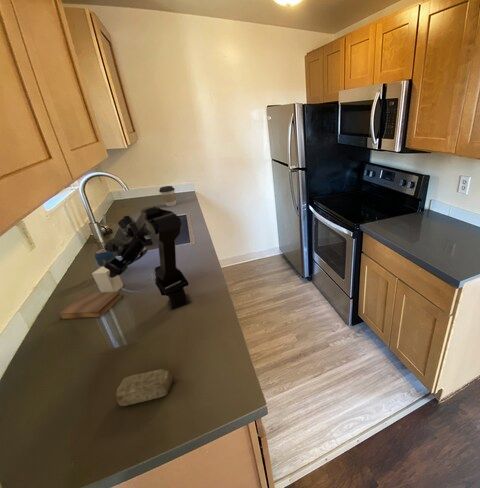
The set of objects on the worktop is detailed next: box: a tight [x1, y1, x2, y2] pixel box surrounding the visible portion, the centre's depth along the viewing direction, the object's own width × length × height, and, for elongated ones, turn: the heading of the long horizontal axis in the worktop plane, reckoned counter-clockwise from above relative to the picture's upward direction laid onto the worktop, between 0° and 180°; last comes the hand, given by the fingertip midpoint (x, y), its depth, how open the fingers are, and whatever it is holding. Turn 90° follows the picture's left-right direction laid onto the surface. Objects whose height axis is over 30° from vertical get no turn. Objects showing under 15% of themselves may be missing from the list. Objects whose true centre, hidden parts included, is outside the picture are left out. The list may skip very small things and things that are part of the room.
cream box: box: [91, 267, 124, 293], centre depth 114 cm, size 6×6×10 cm
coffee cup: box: [158, 185, 177, 207], centre depth 225 cm, size 11×11×15 cm
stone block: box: [115, 367, 173, 407], centre depth 70 cm, size 6×12×5 cm, turn 106°
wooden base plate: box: [58, 290, 122, 320], centre depth 105 cm, size 14×12×2 cm
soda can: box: [94, 247, 117, 268], centre depth 127 cm, size 7×7×12 cm
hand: (118, 271), depth 112 cm, fingers open, 9 cm apart
